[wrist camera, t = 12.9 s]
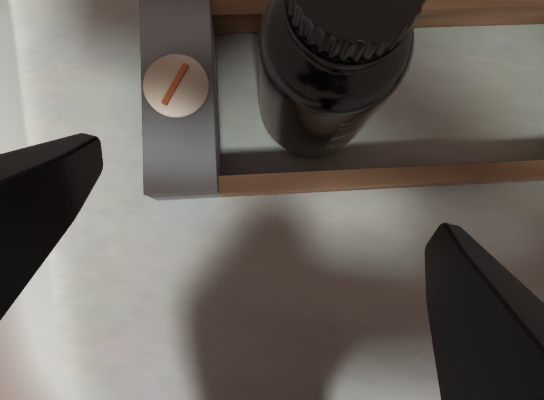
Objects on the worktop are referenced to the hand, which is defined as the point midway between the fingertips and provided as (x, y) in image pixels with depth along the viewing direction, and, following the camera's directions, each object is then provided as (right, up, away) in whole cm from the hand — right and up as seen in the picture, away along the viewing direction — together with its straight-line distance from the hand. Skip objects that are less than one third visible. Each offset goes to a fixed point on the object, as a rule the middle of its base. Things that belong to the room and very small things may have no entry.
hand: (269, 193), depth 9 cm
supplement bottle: (+3, +6, +15) cm, 16 cm away
